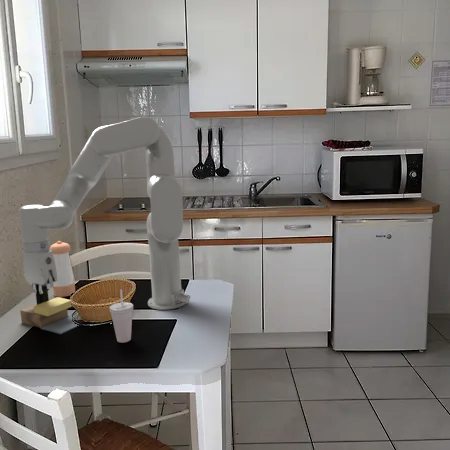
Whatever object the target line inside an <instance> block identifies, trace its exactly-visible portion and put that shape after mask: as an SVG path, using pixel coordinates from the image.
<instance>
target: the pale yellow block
mask: <svg viewBox="0 0 450 450" xmlns="http://www.w3.org/2000/svg"><path fill="white" fill-rule="evenodd" d="M70 300H71V299H67V298H65V297H57V296H56V297H54V298H51V299H49V301H46V302H44V303H41V304H38V305H36V304H35V305H36V306H34V313H37V314H41V315H45V316H50V315H53V314H55V313H57V312H60V311H62V310H65V309H67V310H68V309H69V308H71V307H73V304H72V305H71V302H70Z"/></svg>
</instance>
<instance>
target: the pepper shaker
mask: <svg viewBox="0 0 450 450" xmlns="http://www.w3.org/2000/svg"><path fill="white" fill-rule="evenodd" d="M50 250H51V251H52V253H53V256H54V260H55V265H56V271H57V281H56V282H53V284H54V288H52V289H53V295H54V297H56V298H57V297H60V298H65V297H69V296H72V295H71V294H72V293H74V292H75V293H76V285H75V281H74V276H73V275H74V274H73V271H72V267H71V262H70V260H71V259H70V255H69V254H70V251H71V245H70V244H69V243H67V242H62V241H61V240H58V241H57V242H55V243H53V244H50ZM75 293H74V294H75Z"/></svg>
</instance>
